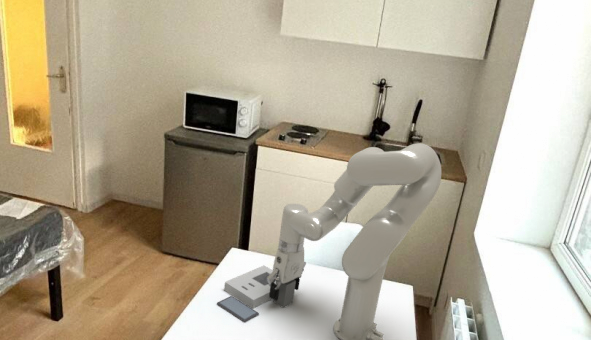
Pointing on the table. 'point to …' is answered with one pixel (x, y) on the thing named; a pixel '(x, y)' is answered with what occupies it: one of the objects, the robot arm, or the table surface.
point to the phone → (237, 309)
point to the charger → (286, 293)
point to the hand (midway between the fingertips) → (283, 293)
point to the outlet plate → (251, 287)
